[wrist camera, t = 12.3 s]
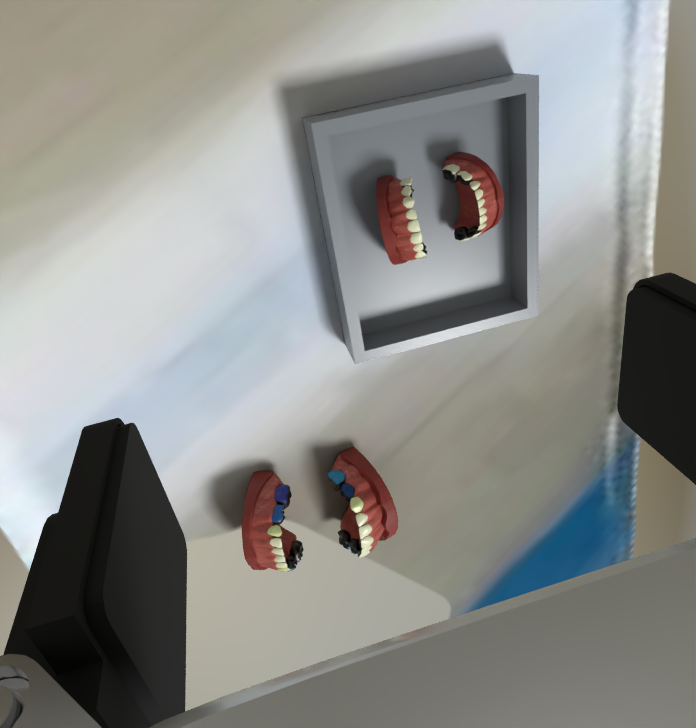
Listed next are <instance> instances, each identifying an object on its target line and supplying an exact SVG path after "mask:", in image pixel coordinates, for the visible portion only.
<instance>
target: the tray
mask: <svg viewBox="0 0 696 728" xmlns="http://www.w3.org/2000/svg"><path fill="white" fill-rule="evenodd" d="M302 120H303V125H304V130H305V135H306V141H307V146H308V151H309V156H310V162H311V167H312V172H313V177H314V183H315V188H316V193H317V198H318V204H319V209H320V214H321V219H322V225H323V230H324V235H325V240H326V246H327V251H328V256H329V261H330V267H331V272H332V277H333V282H334V288H335V293H336V298H337V303H338V309H339V314H340V319H341V324H342V329H343V335H344V340H345V345H346V347H347V349H348V351H349V353H350V355H351V357H352V359H353V361H354V363H355V364H358V363H362V362H366V361H370V360H373V359H377V358H381V357H385V356H388V355H392V354H396V353H400V352H403V351H407V350H411V349H415V348H418V347H422V346H426V345H430V344H433V343H437V342H441V341H445V340H449V339H452V338H456V337H460V336H464V335H467V334H471V333H475V332H479V331H482V330H486V329H490V328H494V327H497V326H501V325H505V324H509V323H512V322H516V321H520V320H524V319H527V318H531V317H535V316H538V166H539V75H528V74H515V73H514V74H509V75H504V76H500V77H495V78H490V79H485V80H481V81H476V82H471V83H466V84H462V85H457V86H452V87H447V88H443V89H438V90H433V91H429V92H424V93H419V94H414V95H410V96H405V97H400V98H395V99H391V100H386V101H381V102H376V103H372V104H367V105H362V106H357V107H353V108H348V109H343V110H338V111H334V112H329V113H324V114H319V115H315V116H310V117H305V118H302ZM455 152H465V153H469V154H473V155H475V156H477V157H478V158H480V159H481V160H483V161H484V162H486V163H487V164H488V165H489V166H490V168H491V169H492V170H493V171H494V173H495V174H496V177H497V179H498V182H499V183H500V186H501V188H502V191H503V195H504V206H503V210H502V216H501V219H500V220H499V222H498V223H497V225H495V226H494V227H493V228H491V229H489V230H488V231H486V232H484V233H483V234H482V235H480V236H477V237H474V238H470V239H469V240H466V241H459V240H456V239H455V236H454V226H455V224H456V222H457V220H458V218H459V214H460V202H459V196H458V190H457V186H456V183H452V182H450V181H448V180H446V179H444V176H443V172H442V170H443V168H444V161H445V160H446V157H447V156H449V155H451V154H453V153H455ZM388 175H393V176H394V177H396V178H398V179H400V180H403V179H405V178H408V177H411V178H412V183H411V185H412V189H414V192H413V193H412V198H413V199H414V201H415V202H414V205H413V207H412V208H411V209H415V211H416V214H417V220H418V222H419V225H420V231H419V232H421V235H422V242H423V243H424V245H425V246H426V249H425V250H426V251H427V252H428V253H427V256H426V257H425V258H423V259H415V260H408V261H407V262H406V263H403V264H398V265H393V264H392V263H391V261H390V260H389V257H388V255H387V252H386V249H385V246H384V242H383V238H382V234H381V229H380V223H379V217H378V211H377V202H376V183H377V178H379V177H384V176H388ZM409 210H410V209H409ZM414 220H415V219H414ZM413 233H414V232H413Z"/></svg>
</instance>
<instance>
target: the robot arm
mask: <svg viewBox="0 0 696 728" xmlns="http://www.w3.org/2000/svg"><path fill="white" fill-rule="evenodd" d="M617 405H618V412H619V415H620V417H621V419H622V420H623V422H624V423H625V424H626V425H627V426H628V427H630V428H631V429H632V430H633V431H634V432H635V433H637V434H638V435H639V436H640V437H641V438H642V439H644V440H645V441H646V442H647V443H648V444H649V445H651V446H652V447H653V448H654V449H655V450H656V451H657V452H659V453H660V454H661V455H662V456H663V457H664V458H665V459H667V460H668V461H669V462H670V463H671V464H672V465H674V466H675V467H676V468H677V469H678V470H679V471H680V472H682V473H683V474H684V475H685V476H686V477H687V478H689V479H690V480H691V481H692V482H693V483H694V484H695V485H696V284H695V283H693V282H691V281H689V280H687V279H684V278H682V277H680V276H678V275H676V274H673V273H665V274H661V275H657V276H653V277H650V278H646V279H642V280H639V281H638V282H637V283H636V284H635V286H634V288H633V290H631V291H630V292H629V294H628V296H627V303H626V314H625V325H624V336H623V348H622V359H621V370H620V382H619V393H618V404H617ZM186 584H187V549H186V542H185V538H184V534H183V532H182V529H181V527H180V525H179V522H178V520H177V518H176V516H175V513H174V511H173V509H172V506H171V504H170V502H169V500H168V497H167V495H166V493H165V490H164V488H163V486H162V484H161V481H160V479H159V477H158V474H157V472H156V470H155V468H154V465H153V463H152V461H151V458H150V456H149V454H148V452H147V449H146V447H145V445H144V442H143V440H142V438H141V436H140V433H139V431H138V429H137V427H136V425H135V424H134V423H129V424H125V425H124V423H123V422H122V420H121V419H119V418H115V419H112V420H108V421H104V422H100V423H97V424H93V425H89V426H86V427H84V428H83V430H82V433H81V436H80V440H79V443H78V446H77V450H76V453H75V457H74V460H73V464H72V467H71V471H70V474H69V477H68V481H67V484H66V488H65V491H64V495H63V498H62V502H61V505H60V508H59V512H58V513H56V514H52V515H51V516H50V517H48V518H47V520H46V522H45V524H44V527H43V530H42V533H41V536H40V539H39V543H38V546H37V549H36V552H35V555H34V559H33V562H32V565H31V568H30V571H29V575H28V578H27V581H26V584H25V588H24V591H23V594H22V597H21V600H20V603H19V607H18V610H17V613H16V616H15V619H14V623H13V626H12V629H11V632H10V635H9V639H8V642H7V645H6V648H5V651H4V655H2V656H0V728H696V538H695V539H692V540H689V541H685V542H682V543H679V544H676V545H673V546H670V547H667V548H664V549H661V550H658V551H655V552H652V553H649V554H646V555H642V556H639V557H636V558H633V559H630V560H627V561H624V562H621V563H618V564H615V565H612V566H609V567H606V568H603V569H599V570H596V571H593V572H590V573H587V574H584V575H581V576H578V577H575V578H572V579H569V580H566V581H563V582H560V583H557V584H554V585H551V586H548V587H545V588H541V589H538V590H535V591H532V592H529V593H526V594H523V595H520V596H517V597H514V598H511V599H508V600H505V601H502V602H499V603H496V604H493V605H490V606H487V607H484V608H481V609H478V610H475V611H472V612H469V613H466V614H463V615H460V616H457V617H454V618H451V619H448V620H445V621H442V622H439V623H436V624H433V625H430V626H427V627H424V628H421V629H418V630H415V631H412V632H409V633H406V634H403V635H400V636H397V637H394V638H391V639H388V640H385V641H382V642H379V643H376V644H373V645H370V646H367V647H364V648H361V649H358V650H355V651H352V652H349V653H346V654H343V655H340V656H337V657H334V658H331V659H328V660H326V661H323V662H320V663H317V664H314V665H311V666H308V667H305V668H303V669H300V670H297V671H294V672H291V673H289V674H286V675H283V676H280V677H277V678H274V679H271V680H268V681H266V682H263V683H260V684H257V685H255V686H251V687H249V688H246V689H243V690H240V691H238V692H234V693H232V694H229V695H226V696H223V697H221V698H218V699H216V700H213V701H211V702H208V703H206V704H203V705H201V706H198V707H196V708H193V709H191V710H188V711H186V712H185V677H186V673H185V672H186V669H185V668H186V590H187V587H186Z"/></svg>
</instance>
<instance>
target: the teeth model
mask: <svg viewBox="0 0 696 728" xmlns="http://www.w3.org/2000/svg"><path fill="white" fill-rule="evenodd" d="M328 477H329V481H330V482H331V483H332V484H333V485H334V486H333V488H334V490H335V491H338V490H341V493H340V494H341V495H342V496H344V497H345V499H346V501H350V505H349V507H348V509H347V511H346V513H345V514H344V516H343V517H342V520H341V526H340V527H341V530H340V531H339V532H338V534H339V536H340V537H339V543H340V544H341V545H343V547H344V548H346V549H350V548H351V552H352V553H354V554H358V557H364V556H366V555H367V554H368V553H369V552H371V551H372V550H373V549H374V548H375V546H376V544H377V543H378V541H379V540H380V541H382V540H386V539H388V538H389V537H391V536H393V535H394V534H395V533H396V531H397V528H398V517H397V512H396V508H395V506H394V503H393V500H392V497H391V495H390V493H389V491H388V489H387V487H386V485H385V484H384V482H383V480H382V478H381V477H380V475H379V474H378V473H377V471H376V470H375V469H374V467H373V466H372V465H371V464H370V462H369V461H368V460H367V459H366V458H365V457H364V456H363V455H362V454H361V453H360V452H359V451H358V450H357V449H356V448H354V447H351V448H349V449H347V450H345V451H343V452H342V453H340V454H339V455H338V457H337V459H336V461H335V463H334V465H333V468H332V471H330V472H329V473H328ZM290 498H291V491H290V487H289V486H288V485H284V484H283V483H282V482H281V480H280V479H279V477H278V476H277V475H276V474H273V471H257V472H254V473H253V475H252V477H251V480H250V483H249V486H248V489H247V493H246V497H245V503H244V509H243V516H242V538H243V550H244V556H245V559H246V561H247V563H248V565H250V566H251V568H252V569H253V570H265V569H267V568H271V569H275V570H278V571H291V570H293V569H295V568H296V565H297V562H299V561H300V560H301V557H302V556H303V554H302V552H303V546H302V543H301V542H300V541H298V540H296V535H295V534H293V533H292V532H290V531H288V530H286V529H284V528H283V527H281V526H280V525H279V524H281V523H282V522H283V520H284V519H285V516H284V515H283V514H284V509H286V508H287V507H288V506H289V504H290Z"/></svg>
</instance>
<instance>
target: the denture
mask: <svg viewBox="0 0 696 728" xmlns="http://www.w3.org/2000/svg"><path fill="white" fill-rule="evenodd" d="M442 172H443V176H444V179H446V180H448V181H450V182H452V183H456V186H457V190H458V196H459V202H460V214H459V218H458V220H457V222H456V224H455V226H454V236H455V239H456V240H459V241H466V240H469V239H470V238H474V237H477V236H480V235H482V234H483V233H484V232H486V231H488V230H489V229H491V228H493V227H494V226H495V225H497V223H498V222H499V220H500V219H501V216H502V210H503V206H504V195H503V191H502V188H501V186H500V183H499V182H498V179H497V177H496V174H495V173H494V171H493V170H492V169H491V168H490V166H489V165H488V164H487V163H486V162H484V161H483V160H481V159H480V158H478V157H477V156H475V155H473V154H469V153H465V152H455V153H453V154H451V155H449V156H447V157H446V160H445V161H444V168H443V170H442ZM411 183H412V178H411V177H408V178H405V179H403V180H400V179H398V178H396V177H394V176H393V175H388V176H384V177H379V178H377V183H376V202H377V211H378V217H379V223H380V229H381V234H382V238H383V242H384V246H385V249H386V252H387V255H388V257H389V260H390V261H391V263H392V264H393V265H398V264H403V263H406V262H407V261H408V260H415V259H423V258H425V257H426V256H427V253H428V252H427V251H426V250H425V249H426V246H425V245H424V243H423V242H422V235H421V232H419V231H420V225H419V222H418V220H417V214H416V211H415V209H411V208H412V207H413V205H414V202H415V201H414V199H413V198H412V193H413V192H414V189H412V185H411ZM409 209H410V210H409ZM414 219H415V220H414ZM413 232H414V233H413Z"/></svg>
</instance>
